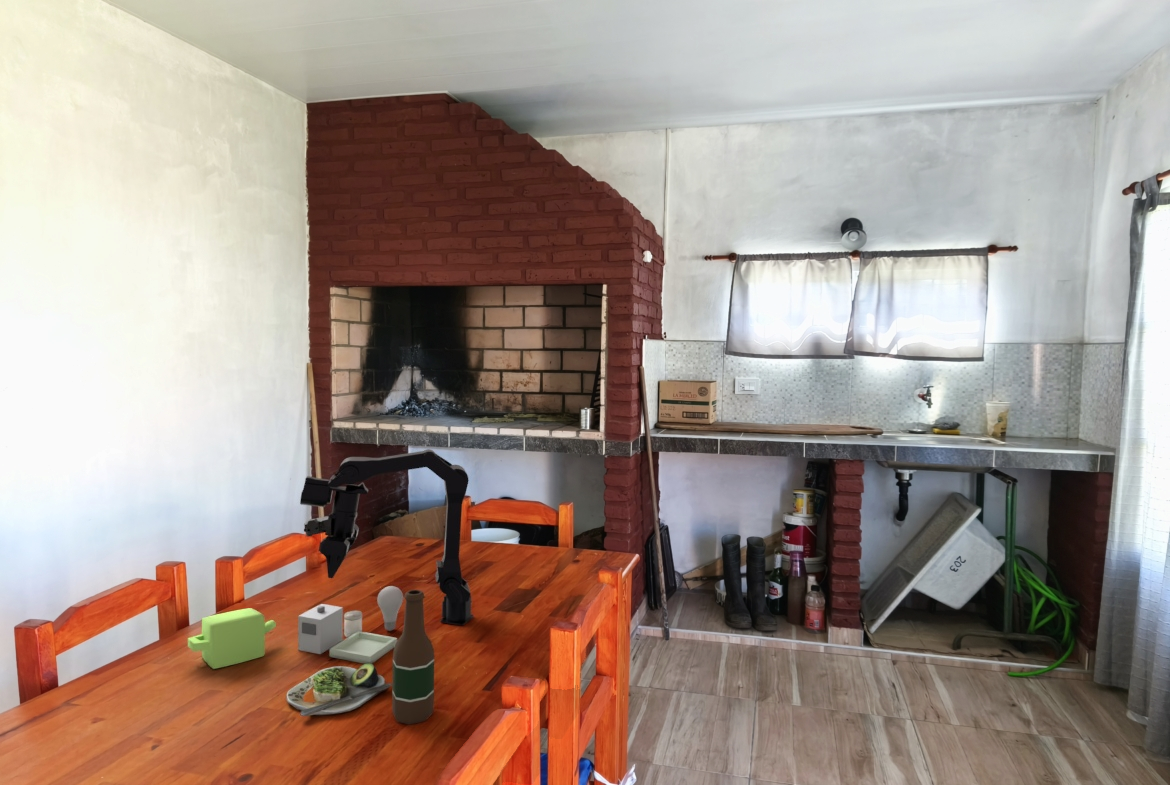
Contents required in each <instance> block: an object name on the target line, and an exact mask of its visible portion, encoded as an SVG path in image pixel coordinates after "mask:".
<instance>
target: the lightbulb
mask: <svg viewBox="0 0 1170 785" xmlns="http://www.w3.org/2000/svg"><path fill="white" fill-rule="evenodd" d="M376 600H377V606H379V609H380V610H381V613H382V616H383V621H384V629H385V630H387V631H388V632H392V631H393V630H394V629H395V628H396V623H397V619H398V612H399V610H400V608H401V606H402V604H403V602H404V594H403V592H402V590H401V589H400V588H399V587H396V586H393V585H390V586H386V587H383V589H381V590H380V591H379V593H378V594H377V599H376Z"/></svg>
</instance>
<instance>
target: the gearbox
mask: <svg viewBox="0 0 1170 785" xmlns="http://www.w3.org/2000/svg"><path fill="white" fill-rule="evenodd" d="M265 617H266V616H265V615H264V614H263V613H261V612H260V611H257V610H256V609H254V608H251V607H250V608H249V607H248V608H242V609H237V610H231V611H227V612H222V613H218V614H212V615H210V616H206V617H205V616H204V617H202V618H201V633H200V634H198V635H194V636H190V637H187V647H188V648H189V649H190V650H191V651H192V652H194V653H195V652H201V658H202V659H203V661H205V663H206V664H207V665H208V666H209V667H210V668H211V669H213V670H215V669H219V668H220V669H221V668H224V667H228V666H232V665H237V664H241V663H244V662H249V661H251V660H252V661H253V660H255V659H258V658H261V657H264V656H265V652H266V651H265V650H266V649H265V646H266V641H265V640H266V636H265V635H266V634H267V633H269V632H270V631H272V630H274V629H276V626H277V623H276V621H274V620H272V619H271V620H268V621H265V620H266V619H265Z"/></svg>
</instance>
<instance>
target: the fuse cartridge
mask: <svg viewBox="0 0 1170 785" xmlns="http://www.w3.org/2000/svg"><path fill="white" fill-rule="evenodd" d="M343 620H344V626H343V636H344V637H346V638H348V637H350V636H351V635H353V634H355V633H356V632H358V631H361V632H363V612H362V611H360V610H350V611H347V612H345V613H343Z"/></svg>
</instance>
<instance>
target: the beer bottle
mask: <svg viewBox="0 0 1170 785" xmlns="http://www.w3.org/2000/svg"><path fill="white" fill-rule="evenodd" d="M425 598H426V597H425V593H424V592H423V590H421V589H411V590H408V591H407V592H405V593H404V595H403V599H405V607H404V618H403V620H404V621H403V628H402V633H401V635H400V636H399V638H397V642H396V645H395V647H394V648H393V652H392V686H391V687H392V689H391V690H392V700H391V703H392V715H393V716H394V719H395V720H396V722H397V723H401V724H406V725H410V726H411V725H414V724H420V723H424V722H425V721H426V720H427V719H429V717H431V715H433V714H434V713H433V712H434V704H435V702H434V701H435V700H434V699H435V698H434V697H435V695H434V694H435V651H434V650H435V649H434V646H433V643H432V641H431V639H430V638H429V637H428V635H427V633H426V629H425V628H426V627H425V615H424V613H425V612H424V599H425Z"/></svg>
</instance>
